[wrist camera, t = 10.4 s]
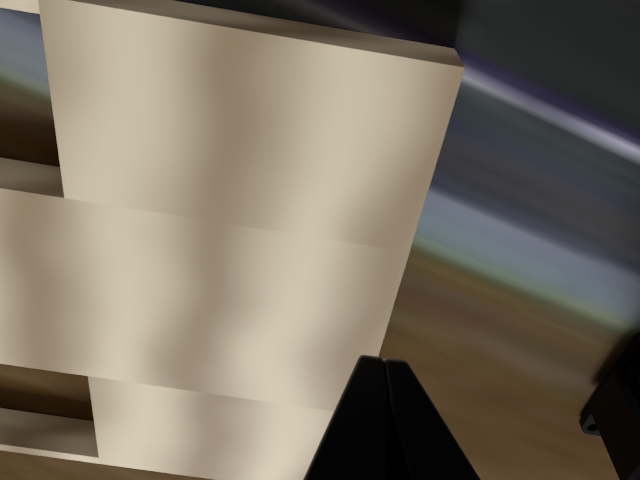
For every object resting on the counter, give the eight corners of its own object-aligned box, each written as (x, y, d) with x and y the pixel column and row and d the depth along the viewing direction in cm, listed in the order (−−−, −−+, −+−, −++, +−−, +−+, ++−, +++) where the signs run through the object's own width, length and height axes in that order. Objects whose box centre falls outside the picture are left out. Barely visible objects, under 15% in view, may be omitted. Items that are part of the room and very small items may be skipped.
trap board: (454, 48, 17) (474, 85, 14) (337, 460, 29) (335, 525, 27) (-463, -109, 16) (-643, -104, 13) (-185, 388, 28) (-247, 446, 25)
